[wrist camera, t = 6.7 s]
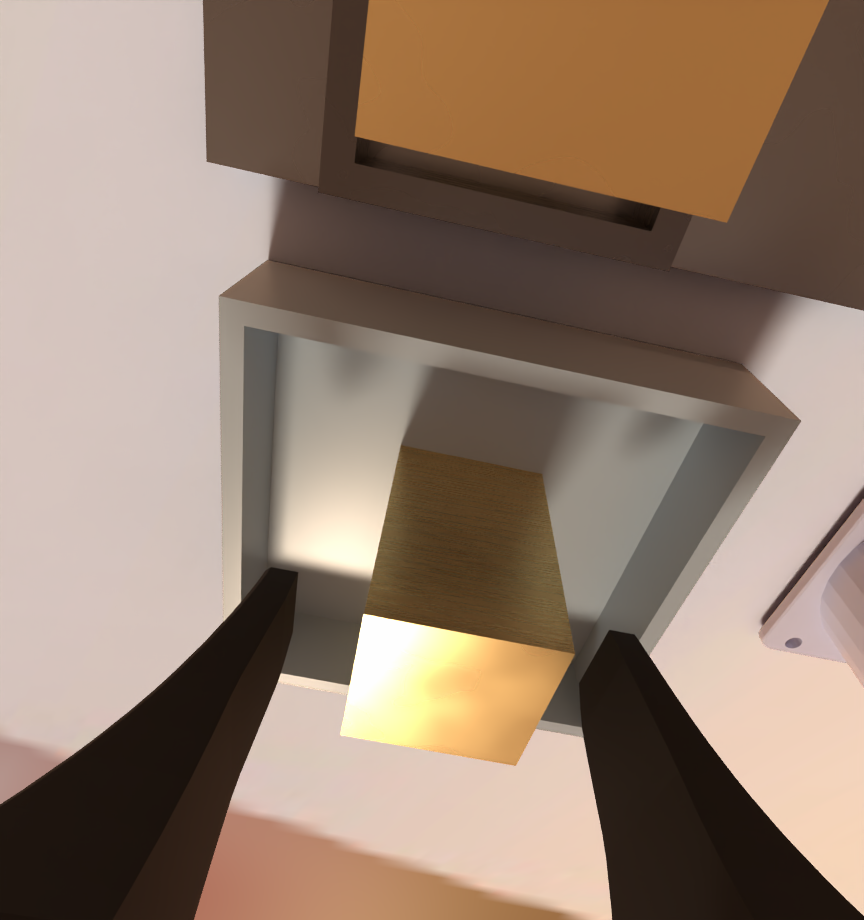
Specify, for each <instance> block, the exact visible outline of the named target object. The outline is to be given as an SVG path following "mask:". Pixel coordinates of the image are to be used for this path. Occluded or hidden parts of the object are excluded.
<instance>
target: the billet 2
mask: <svg viewBox="0 0 864 920" xmlns="http://www.w3.org/2000/svg"><path fill="white" fill-rule="evenodd" d="M828 2H829V0H369V5H368V14H367V24H366V33H365V43H364V52H363V62H362V71H361V81H360V90H359V100H358V109H357V119H356V128H355V136H356V137H360V138H364V139H368V140H373V141H377V142H381V143H386V144H390V145H394V146H399V147H403V148H407V149H411V150H416V151H420V152H424V153H429V154H433V155H437V156H442V157H446V158H450V159H455V160H459V161H463V162H467V163H472V164H476V165H480V166H485V167H489V168H493V169H498V170H502V171H506V172H510V173H515V174H519V175H523V176H528V177H532V178H536V179H541V180H545V181H549V182H553V183H558V184H562V185H566V186H571V187H575V188H579V189H584V190H588V191H592V192H597V193H601V194H605V195H609V196H614V197H618V198H622V199H627V200H631V201H635V202H640V203H644V204H648V205H652V206H657V207H661V208H665V209H670V210H674V211H678V212H683V213H687V214H691V215H695V216H700V217H704V218H708V219H713V220H717V221H721V222H726V223H727V221H728V219H729V217H730V215H731V213H732V211H733V208H734V206H735V204H736V202H737V200H738V197H739V195H740V193H741V191H742V189H743V187H744V184H745V182H746V180H747V178H748V176H749V174H750V171H751V169H752V167H753V165H754V163H755V160H756V158H757V156H758V154H759V152H760V150H761V147H762V145H763V143H764V141H765V139H766V137H767V134H768V132H769V130H770V128H771V126H772V124H773V121H774V119H775V117H776V115H777V113H778V110H779V108H780V106H781V104H782V102H783V100H784V97H785V95H786V93H787V91H788V89H789V87H790V84H791V82H792V80H793V78H794V76H795V73H796V71H797V69H798V67H799V65H800V63H801V60H802V58H803V56H804V54H805V52H806V50H807V47H808V45H809V43H810V41H811V39H812V36H813V34H814V32H815V30H816V28H817V26H818V23H819V21H820V19H821V17H822V15H823V13H824V10H825V8H826V6H827V4H828Z"/></svg>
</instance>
